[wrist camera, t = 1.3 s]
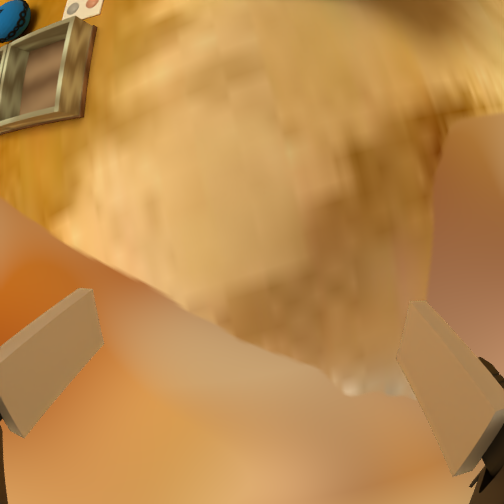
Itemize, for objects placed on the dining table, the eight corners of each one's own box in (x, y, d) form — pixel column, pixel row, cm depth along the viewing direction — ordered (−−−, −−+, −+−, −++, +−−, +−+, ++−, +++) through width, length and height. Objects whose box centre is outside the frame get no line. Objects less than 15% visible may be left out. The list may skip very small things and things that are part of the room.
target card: (69, -1, 31) (67, -2, 30) (107, -14, 30) (106, -15, 30) (61, 26, 32) (59, 25, 32) (100, 14, 32) (98, 13, 31)
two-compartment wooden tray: (-16, 71, 34) (-36, 67, 28) (97, 27, 33) (76, 13, 27) (-25, 142, 38) (-46, 143, 32) (83, 117, 36) (59, 112, 31)
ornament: (3, 44, 33) (-31, 34, 23) (24, 6, 31) (-8, -8, 21) (24, 49, 33) (-13, 37, 24) (47, 7, 31) (13, -10, 21)
